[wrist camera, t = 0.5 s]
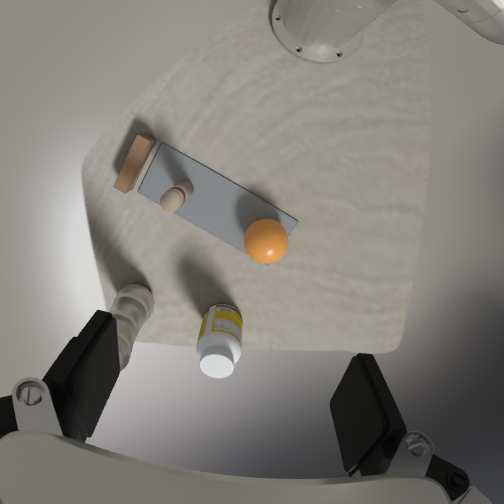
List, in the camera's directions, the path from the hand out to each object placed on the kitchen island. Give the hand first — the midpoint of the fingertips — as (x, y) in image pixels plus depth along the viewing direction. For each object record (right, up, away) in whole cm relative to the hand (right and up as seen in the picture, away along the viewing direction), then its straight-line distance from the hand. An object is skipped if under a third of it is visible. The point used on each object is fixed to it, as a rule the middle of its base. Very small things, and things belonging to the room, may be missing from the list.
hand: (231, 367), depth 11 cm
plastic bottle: (-18, -3, +37) cm, 41 cm away
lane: (-4, +11, +31) cm, 33 cm away
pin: (-8, +13, +30) cm, 34 cm away
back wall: (-15, +17, +29) cm, 37 cm away
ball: (+3, +6, +30) cm, 31 cm away
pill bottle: (-4, -7, +39) cm, 39 cm away
